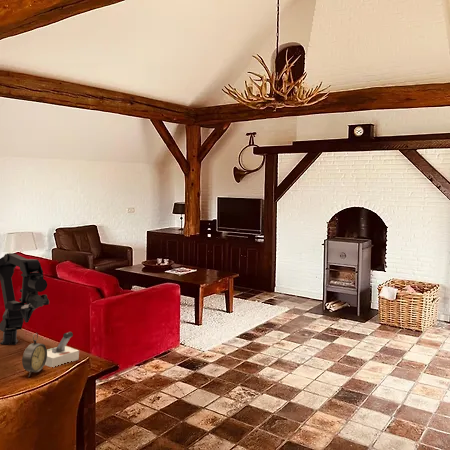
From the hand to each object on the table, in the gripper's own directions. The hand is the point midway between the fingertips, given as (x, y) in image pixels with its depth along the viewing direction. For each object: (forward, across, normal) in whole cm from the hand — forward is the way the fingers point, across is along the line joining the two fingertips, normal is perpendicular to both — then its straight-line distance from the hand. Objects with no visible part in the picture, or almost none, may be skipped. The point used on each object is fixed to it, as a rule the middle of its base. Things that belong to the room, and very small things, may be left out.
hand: (26, 322), depth 210 cm
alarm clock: (+13, -14, -24) cm, 31 cm away
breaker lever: (+9, +2, -19) cm, 21 cm away
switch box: (+13, +2, -19) cm, 23 cm away
